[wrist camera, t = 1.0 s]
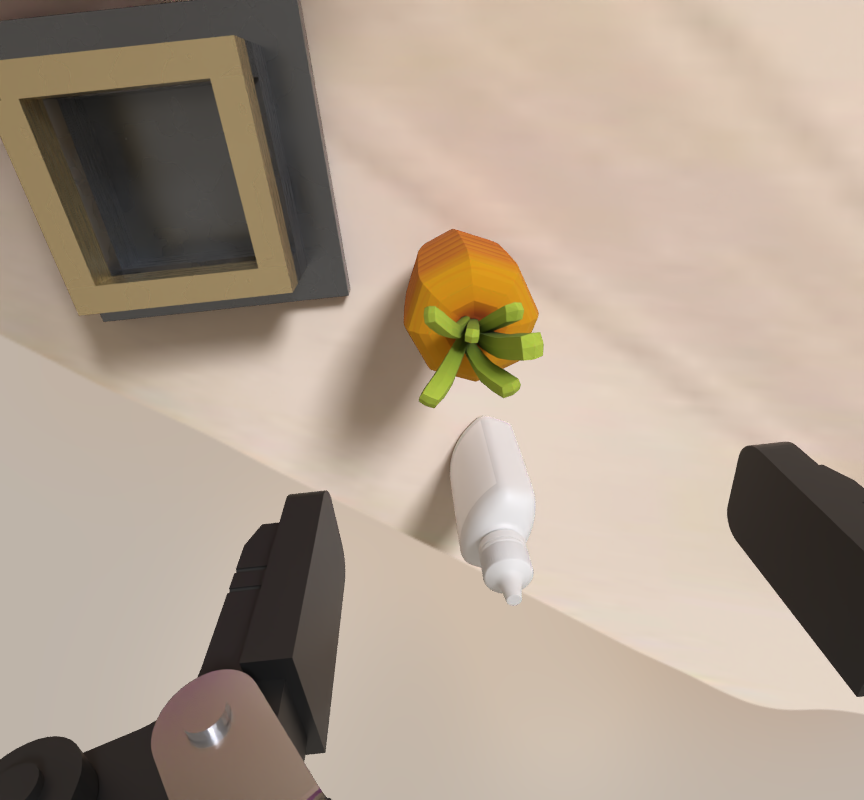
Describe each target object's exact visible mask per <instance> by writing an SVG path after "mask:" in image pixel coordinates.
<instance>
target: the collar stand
mask: <svg viewBox="0 0 864 800" xmlns="http://www.w3.org/2000/svg"><path fill="white" fill-rule="evenodd" d="M0 137H1V139H2V141H3V144H4V146H5V148H6V150H7V153H8V155H9V157H10V160H11V162H12V164H13V166H14V169H15V171H16V173H17V176H18V178H19V180H20V182H21V185H22V187H23V189H24V191H25V194H26V196H27V198H28V201H29V203H30V205H31V207H32V210H33V212H34V214H35V217H36V219H37V221H38V223H39V226H40V228H41V230H42V233H43V235H44V237H45V239H46V242H47V244H48V246H49V248H50V251H51V253H52V255H53V258H54V260H55V262H56V264H57V267H58V269H59V271H60V274H61V276H62V278H63V280H64V283H65V285H66V287H67V290H68V292H69V294H70V296H71V299H72V301H73V303H74V305H75V308H76V310H77V312H78V315H79V316H81V315H90V314H99V313H100V315H101V317H102V319H103V322H107V321H116V320H125V319H135V318H144V317H153V316H162V315H172V314H181V313H190V312H199V311H209V310H218V309H227V308H237V307H246V306H255V305H264V304H274V303H283V302H292V301H302V300H311V299H320V298H329V297H339V296H348V295H349V293H350V285H349V279H348V273H347V267H346V262H345V256H344V250H343V244H342V238H341V233H340V227H339V221H338V215H337V210H336V204H335V198H334V192H333V186H332V181H331V175H330V169H329V163H328V158H327V152H326V146H325V140H324V134H323V129H322V123H321V117H320V111H319V105H318V100H317V94H316V88H315V82H314V77H313V71H312V65H311V59H310V53H309V48H308V42H307V36H306V30H305V25H304V19H303V13H302V7H301V1H300V0H192V1H183V2H173V3H164V4H155V5H145V6H136V7H127V8H117V9H108V10H99V11H89V12H80V13H70V14H61V15H52V16H42V17H33V18H24V19H14V20H5V21H0Z"/></svg>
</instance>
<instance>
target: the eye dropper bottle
mask: <svg viewBox="0 0 864 800" xmlns="http://www.w3.org/2000/svg"><path fill="white" fill-rule="evenodd" d="M450 481H451V488H452V496H453V503H454V510H455V518H456V525H457V532H458V539H459V545H460V551H461V554H462V557H463V558H464V560H465V561H466V562H468V563H469V564H471V565H474V566H477V567H481V568H482V574H483V580H484V582H485V584H486V586H487V587H488V588H490V589H491V590H492V591H495V592H498V593H503V595H504V597H505V599H506V602H507V603H508V604H509V605H513V606H514V605H518V604H519V603H521V601H522V589H523V588H525V587H526V586H527V585H528V584H529V583H530V582H531V580H532V578H533V573H534V572H533V567H532V563H531V560H530V556H529V553H528V549H527V546H526V542H527V540H528V538H529V535H530V533H531V530H532V527H533V523H534V518H535V505H536V502H535V494H534V490H533V487H532V484H531V481H530V478H529V475H528V472H527V469H526V466H525V463H524V460H523V457H522V454H521V451H520V448H519V445H518V442H517V440H516V437H515V434H514V431H513V428H512V426H511V424H510V423H508V422H506V421H503V420H500V419H497V418H493V417H490V416H481V417H478V418H477V419H476V420H475V421H474V422H472V423H471V424H470V425H469V427H468V428H467V429H466V430H465V431H464V432H463V434H462V435H461V437H460V438H459V440H458V442H457V444H456V446H455V448H454V451H453V454H452V458H451V464H450Z"/></svg>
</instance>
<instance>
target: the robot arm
mask: <svg viewBox="0 0 864 800" xmlns="http://www.w3.org/2000/svg"><path fill="white" fill-rule="evenodd" d="M727 517H728V523H729V527H730V530H731V532H732V534H733V536H734V538H735V539H736V541H737V542H738V544H739V545H740V546H741V547H742V549H743V550H744V551H745V553H746V554H747V555H748V557H749V558H750V559H751V560H752V562H753V563H754V564H755V566H756V567H757V568H758V569H759V571H760V572H761V573H762V575H763V576H764V577H765V579H766V580H767V581H768V582H769V584H770V585H771V586H772V588H773V589H774V590H775V592H776V593H777V594H778V595H779V597H780V598H781V599H782V601H783V602H784V603H785V604H786V606H787V607H788V608H789V610H790V611H791V612H792V614H793V615H794V616H795V617H796V619H797V620H798V621H799V623H800V624H801V625H802V627H803V628H804V629H805V630H806V632H807V633H808V634H809V636H810V637H811V638H812V639H813V641H814V642H815V643H816V645H817V646H818V647H819V649H820V650H821V651H822V652H823V654H824V655H825V656H826V658H827V659H828V660H829V661H830V663H831V664H832V665H833V667H834V668H835V669H836V671H837V672H838V673H839V674H840V676H841V677H842V678H843V680H844V681H845V682H846V684H847V685H848V686H849V687H850V689H851V690H852V691H853V693H854V694H855V695H856V696H857V697H862V696H864V488H863V487H862V486H860V485H859V484H858V483H857V482H856V481H854V480H852V479H850V478H848V477H846V476H844V475H842V474H840V473H838V472H836V471H834V470H832V469H830V468H828V467H827V466H825V465H818V464H817V463H816V462H815V461H814V460H812V459H811V458H810V457H809V456H808V455H807V454H805V453H804V452H803V451H802V450H801V449H800V448H798V447H797V446H796V445H795V444H793V443H791V442H778V443H769V444H760V445H751V446H746V447H744V448H743V449H742V450H741V452H740V455H739V458H738V463H737V467H736V472H735V476H734V480H733V485H732V489H731V494H730V498H729V503H728V508H727ZM344 583H345V560H344V552H343V547H342V542H341V538H340V534H339V529H338V525H337V521H336V517H335V513H334V508H333V504H332V500H331V496H330V494H329V492H328V491H327V490H326V491H317V492H308V493H299V494H290V495H288V496H287V498H286V502H285V505H284V508H283V512H282V515H281V519H280V522H279V523H271V524H263V525H261V526H260V528H259V529H258V530H257V531H256V532H255V534H254V535H253V536H252V537H251V538H250V539H249V541H248V542H247V543H246V544H245V545H244V548H243V551H242V554H241V556H240V559H239V562H238V565H237V568H236V573H235V574H234V576H233V579H232V582H231V585H230V588H229V589H230V592H229V593H228V594H227V596H226V599H225V602H224V605H223V608H222V611H221V613H220V616H219V619H218V622H217V625H216V628H215V631H214V634H213V636H212V639H211V642H210V645H209V648H208V651H207V653H206V656H205V659H204V662H203V665H202V669H201V670H200V673H199V675H198V677H197V678H196V679H194V680H193V681H191V682H189V683H188V684H187V685H185V686H184V687H183V688H181V689H180V690H179V691H178V692H177V693H176V694H175V695H174V696H173V697H172V698H171V699H170V700H169V701H168V703H167V704H166V705H165V707H164V708H163V710H162V711H161V713H160V715H159V717H158V718H157V720H156V721H155V722H153V723H151V724H150V725H147V726H146V727H143V728H141V729H139V730H137V731H134V732H132V733H130V734H127V735H125V736H122V737H120V738H118V739H115V740H113V741H110V742H108V743H106V744H103V745H101V746H98V747H96V748H94V749H91V750H89V751H86V752H84V753H82V751H81V750H80V749H79V747H78V746H77V744H75V743H74V742H73V741H72V740H70V739H67V738H64V737H57V736H54V737H46V738H41V739H38V740H35V741H32V742H30V743H27V744H25V745H23V746H21V747H19V748H17V749H15V750H14V751H12V752H11V753H9V754H7V755H6V756H4V757H3V758H2V759H0V800H331V799H330V798H327V797H326V796H325V795H324V793H323V792H322V791H321V789H320V787H319V786H318V784H317V783H316V781H315V779H314V778H313V776H312V774H311V773H310V771H309V770H308V768H307V766H306V764H305V763H304V760H305V755H309V754H318V753H325V751H326V742H327V733H328V724H329V715H330V707H331V698H332V688H333V681H334V672H335V663H336V654H337V645H338V636H339V628H340V619H341V610H342V601H343V592H344Z"/></svg>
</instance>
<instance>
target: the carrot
mask: <svg viewBox="0 0 864 800" xmlns="http://www.w3.org/2000/svg"><path fill="white" fill-rule="evenodd" d="M538 314H539V313H538V310H537V308H536V305H535V303H534V301H533V299H532V296H531V294H530V292H529V290H528V287H527V285H526V283H525V281H524V278H523V276H522V274H521V271H520V269H519V267H518V265H517V263H516V262H515V261H514V260H513V259H512V258H511V256H510V255H509V254H508V253H507V252H506V251H505V250H504V249H503V248H502V247H501V246H500V245H499V244H498V243H495V242H493V241H490V240H487V239H484V238H481V237H478V236H474V235H471V234H468V233H465V232H462V231H459V230H455V229H451V230H449V231H447V232H446V233H444V234H442V235H440V236H438V237H436V238H434V239H433V240H431V241H429V242H427V243H425V244H424V245H423V246H422V247H421V248H420V250H419V251H418V255H417V258H416V261H415V265H414V268H413V271H412V275H411V278H410V281H409V285H408V288H407V291H406V298H405V306H404V326H405V328H406V330H407V332H408V333H409V335H410V337H411V338H412V340H413V342H414V343H415V345H416V347H417V349H418V350H419V352H420V354H421V355H422V357H423V359H424V360H425V362H426V364H427V366H428V367H429V368H430V369H431V370H433V371H436V373H435V374H434V376H433V377H432V379H431V380H430V381H429V383H428V384H427V386H426V387H425V388H424V390H423V392H422V394H421V396H420V397H419V402H421V403H422V404H424V405H425V406H428V407H432V408H435V407H436V406H437V405H438V403H439V402H440V401H441V400H442V399H443V398H444V397H445V396H446V394H447V392H448V391H449V389H450V388H451V386H452V384H453V381H454V379H455V376H456V377H460V378H464V379H468V380H472V381H478V380H480V381H481V382H482V383H483V384H484V385H486V386H487V387H488V388H489V389H490V390H492V391H493V392H495V393H496V394H498V395H499V396H501V397H503V398H505V397H508V396H511V395H513V394H515V393H516V392H517V391H518V390H519V389H520V385H521V384H520V382H519V379H518V378H516V377H515V376H513V375H511V374H510V373H508V372H507V371H505V370H504V369H503V368H505V367H508V366H510V365H512V364H514V363H516V362H518V361H519V360H532V359H536V358H539V357H541V356H543V340H542V337H541V334H540V332H538V333H531V332H532V330H533V328H534V325H535V323H536V321H537V318H538Z"/></svg>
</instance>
